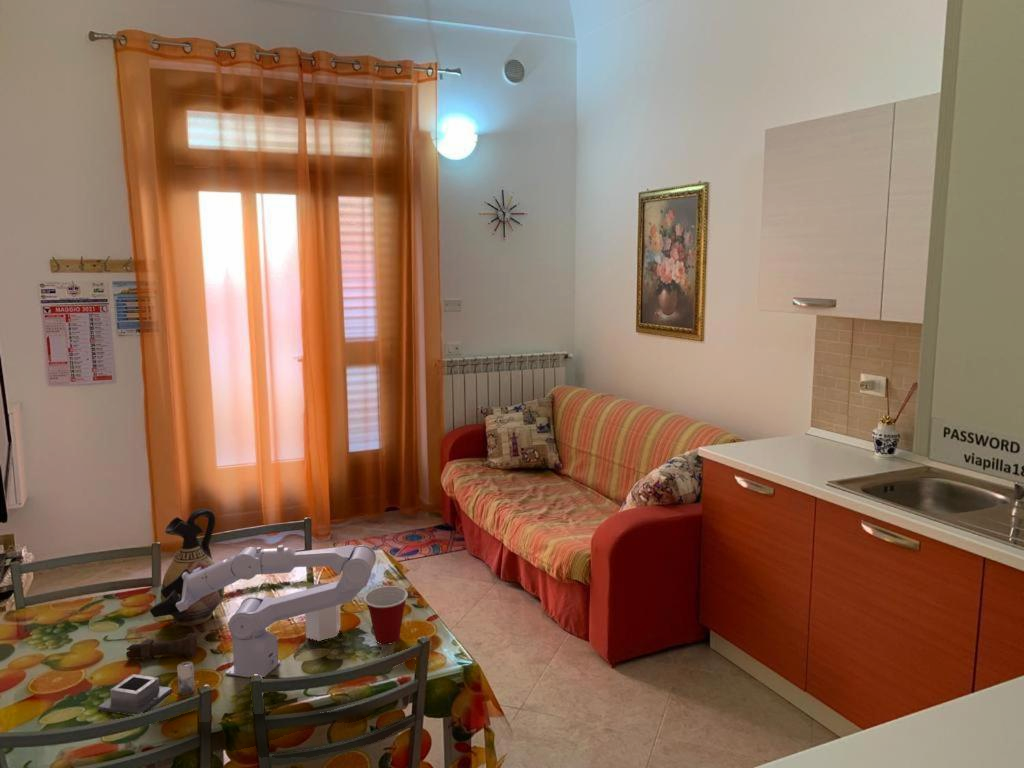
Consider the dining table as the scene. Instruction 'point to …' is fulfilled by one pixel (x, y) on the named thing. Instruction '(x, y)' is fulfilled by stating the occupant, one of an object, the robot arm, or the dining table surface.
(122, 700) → the square socket base plate
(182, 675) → the pale grey cylinder
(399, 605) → the plastic cup
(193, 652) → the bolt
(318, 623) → the jar
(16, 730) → the dining table surface
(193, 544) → the ceramic jug
